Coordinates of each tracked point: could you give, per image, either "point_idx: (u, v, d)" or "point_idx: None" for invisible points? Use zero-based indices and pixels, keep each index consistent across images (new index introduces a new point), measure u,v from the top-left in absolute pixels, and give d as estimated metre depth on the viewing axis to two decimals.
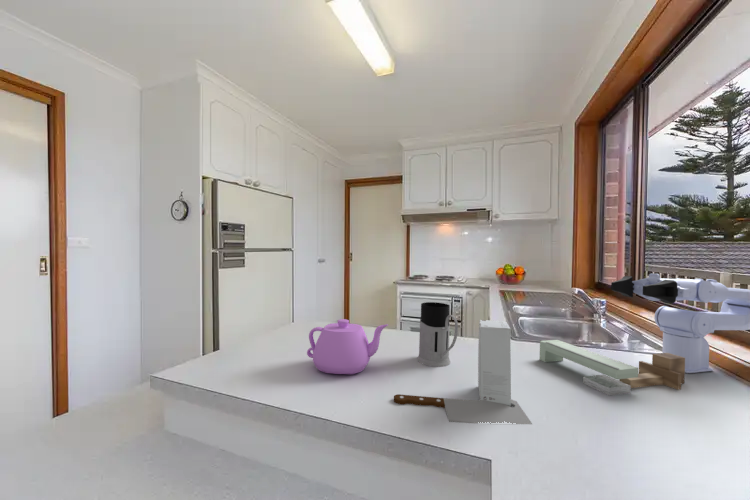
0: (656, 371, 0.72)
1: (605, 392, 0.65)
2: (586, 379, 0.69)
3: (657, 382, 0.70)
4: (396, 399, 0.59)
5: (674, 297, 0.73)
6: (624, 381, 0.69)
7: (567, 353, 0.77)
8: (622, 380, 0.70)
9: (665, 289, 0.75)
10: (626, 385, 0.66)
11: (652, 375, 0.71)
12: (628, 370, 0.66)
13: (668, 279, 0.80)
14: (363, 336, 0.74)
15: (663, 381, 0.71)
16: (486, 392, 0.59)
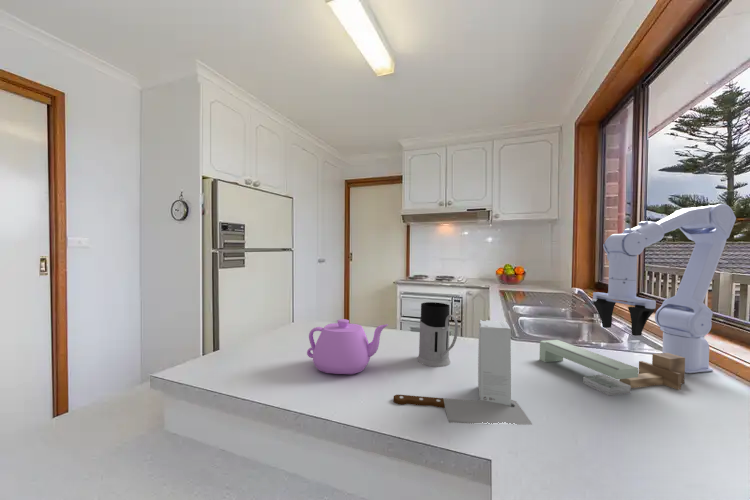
0: (656, 371, 0.72)
1: (605, 392, 0.65)
2: (586, 379, 0.69)
3: (657, 382, 0.70)
4: (396, 399, 0.59)
5: (650, 310, 0.75)
6: (624, 381, 0.69)
7: (567, 353, 0.77)
8: (622, 380, 0.70)
9: None
10: (626, 385, 0.66)
11: (652, 375, 0.71)
12: (628, 370, 0.66)
13: (617, 284, 0.79)
14: (363, 336, 0.74)
15: (663, 381, 0.71)
16: (486, 392, 0.59)
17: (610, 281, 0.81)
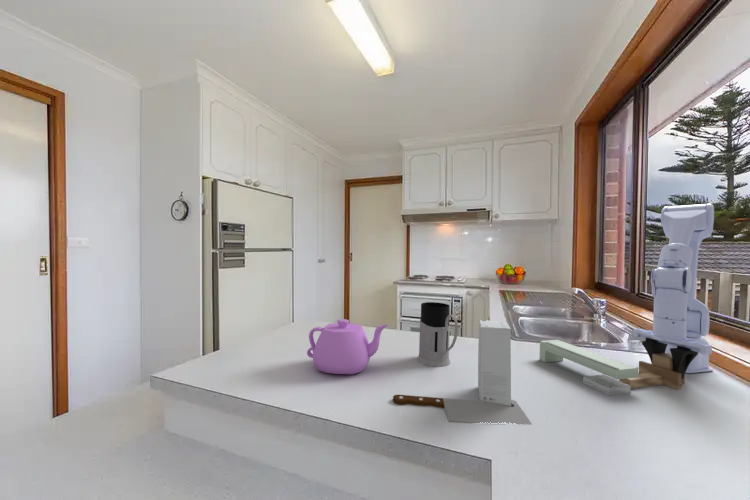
0: (656, 371, 0.72)
1: (605, 392, 0.65)
2: (586, 379, 0.69)
3: (657, 382, 0.70)
4: (395, 399, 0.59)
5: (695, 353, 0.69)
6: (624, 381, 0.69)
7: (567, 353, 0.77)
8: (622, 380, 0.70)
9: None
10: (626, 385, 0.66)
11: (652, 375, 0.71)
12: (628, 370, 0.66)
13: (665, 323, 0.71)
14: (363, 336, 0.74)
15: (663, 381, 0.71)
16: (486, 392, 0.59)
17: (656, 320, 0.73)
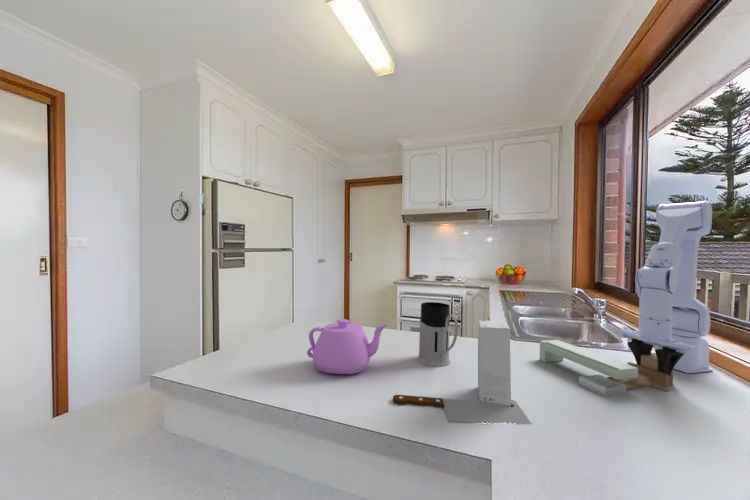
0: (644, 372, 0.71)
1: (601, 392, 0.65)
2: (582, 379, 0.69)
3: (645, 383, 0.69)
4: (395, 399, 0.58)
5: (680, 354, 0.68)
6: None
7: (567, 353, 0.77)
8: None
9: None
10: (622, 385, 0.66)
11: (640, 376, 0.70)
12: (628, 370, 0.66)
13: (650, 324, 0.70)
14: (363, 336, 0.74)
15: (651, 382, 0.70)
16: (486, 393, 0.59)
17: (641, 320, 0.72)
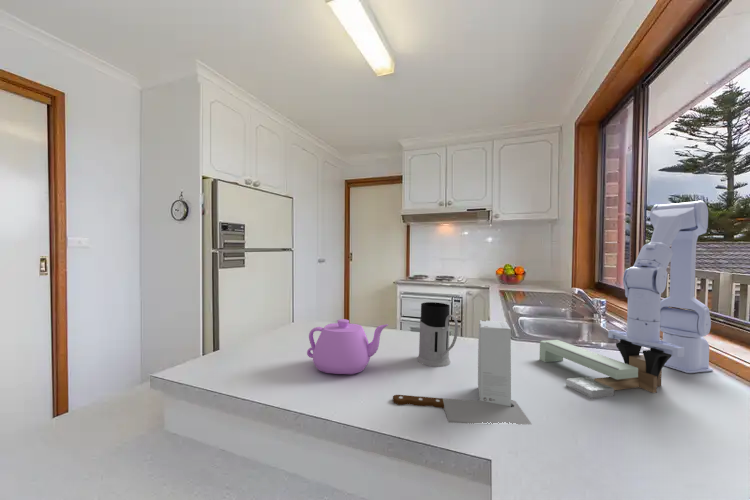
0: None
1: (587, 395, 0.64)
2: (569, 381, 0.68)
3: (633, 385, 0.68)
4: (395, 399, 0.58)
5: (668, 355, 0.67)
6: None
7: (567, 353, 0.77)
8: None
9: None
10: (609, 387, 0.64)
11: (627, 378, 0.69)
12: (628, 370, 0.66)
13: (638, 325, 0.69)
14: (363, 336, 0.74)
15: (639, 384, 0.69)
16: (486, 393, 0.59)
17: (629, 321, 0.71)
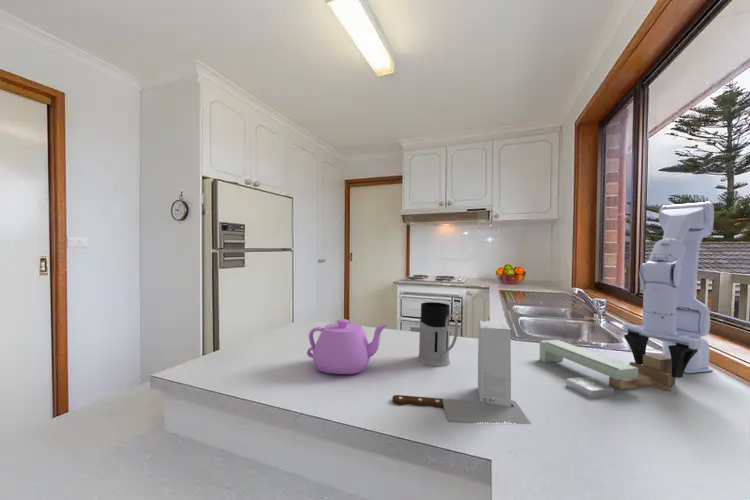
0: (646, 372, 0.71)
1: (588, 395, 0.64)
2: (569, 381, 0.68)
3: (647, 383, 0.69)
4: (395, 400, 0.58)
5: (694, 350, 0.66)
6: (614, 382, 0.69)
7: (567, 353, 0.77)
8: (612, 381, 0.69)
9: None
10: (609, 387, 0.65)
11: (642, 376, 0.70)
12: (628, 370, 0.66)
13: (655, 318, 0.70)
14: (363, 336, 0.74)
15: (653, 382, 0.70)
16: (486, 393, 0.59)
17: (645, 314, 0.72)
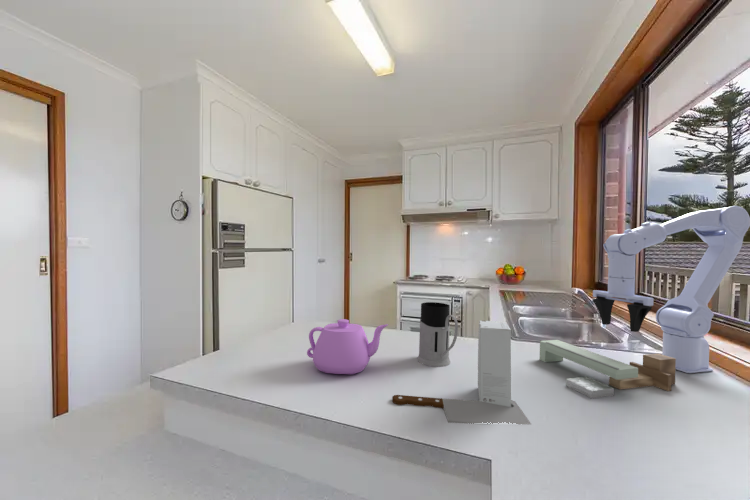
0: (646, 372, 0.71)
1: (588, 395, 0.64)
2: (569, 381, 0.68)
3: (647, 383, 0.69)
4: (395, 400, 0.58)
5: (648, 307, 0.78)
6: (614, 382, 0.69)
7: (567, 353, 0.77)
8: (612, 381, 0.69)
9: None
10: (609, 387, 0.65)
11: (642, 376, 0.70)
12: (628, 370, 0.66)
13: (617, 282, 0.82)
14: (363, 336, 0.74)
15: (653, 382, 0.70)
16: (486, 393, 0.59)
17: (610, 279, 0.84)
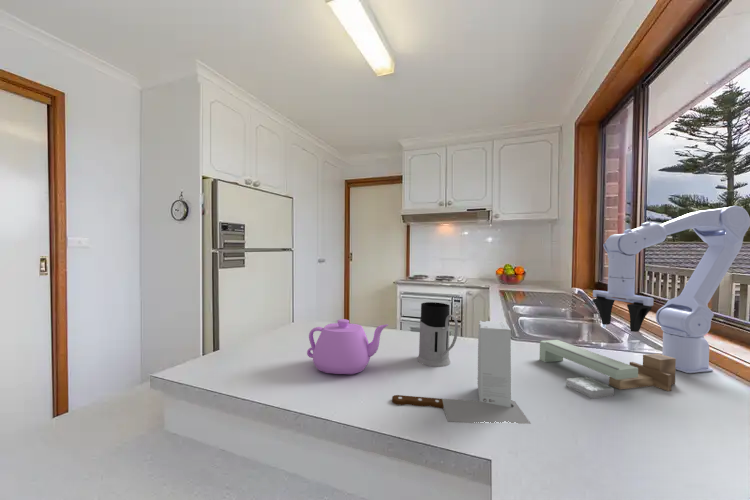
0: (646, 372, 0.71)
1: (588, 395, 0.64)
2: (569, 381, 0.68)
3: (647, 383, 0.69)
4: (395, 400, 0.58)
5: (648, 307, 0.78)
6: (614, 382, 0.69)
7: (567, 353, 0.77)
8: (612, 381, 0.69)
9: None
10: (609, 387, 0.65)
11: (642, 376, 0.70)
12: (628, 370, 0.66)
13: (617, 282, 0.82)
14: (363, 336, 0.74)
15: (653, 382, 0.70)
16: (485, 394, 0.59)
17: (610, 279, 0.84)
